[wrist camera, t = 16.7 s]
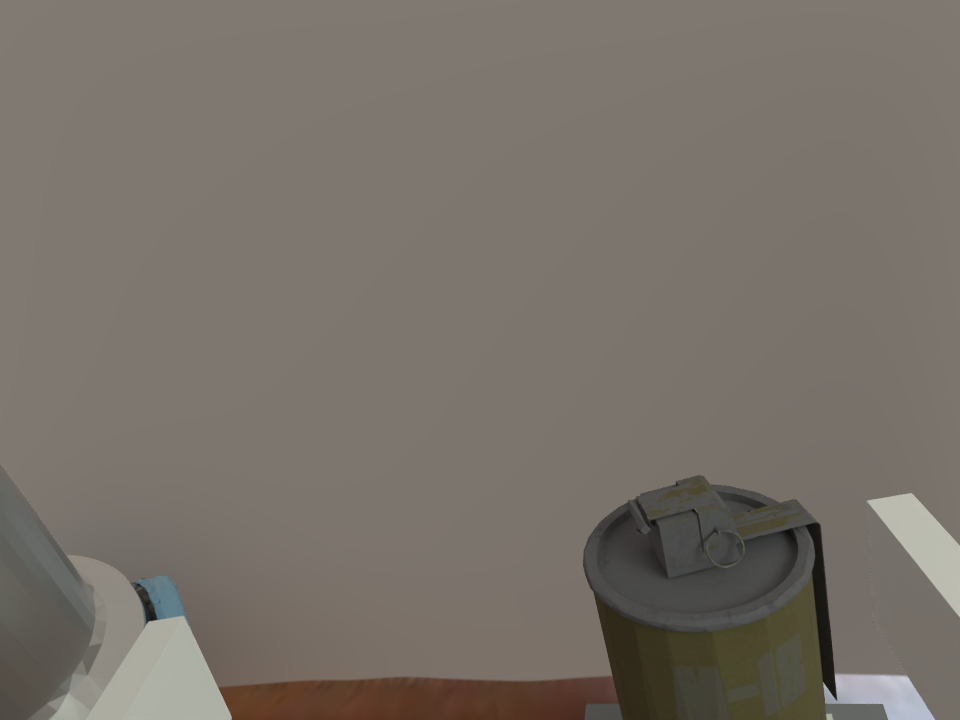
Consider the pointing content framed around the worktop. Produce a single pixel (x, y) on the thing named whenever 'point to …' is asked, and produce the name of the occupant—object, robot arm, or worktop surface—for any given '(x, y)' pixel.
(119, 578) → the robot arm
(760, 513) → the canister
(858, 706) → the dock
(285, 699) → the worktop surface
